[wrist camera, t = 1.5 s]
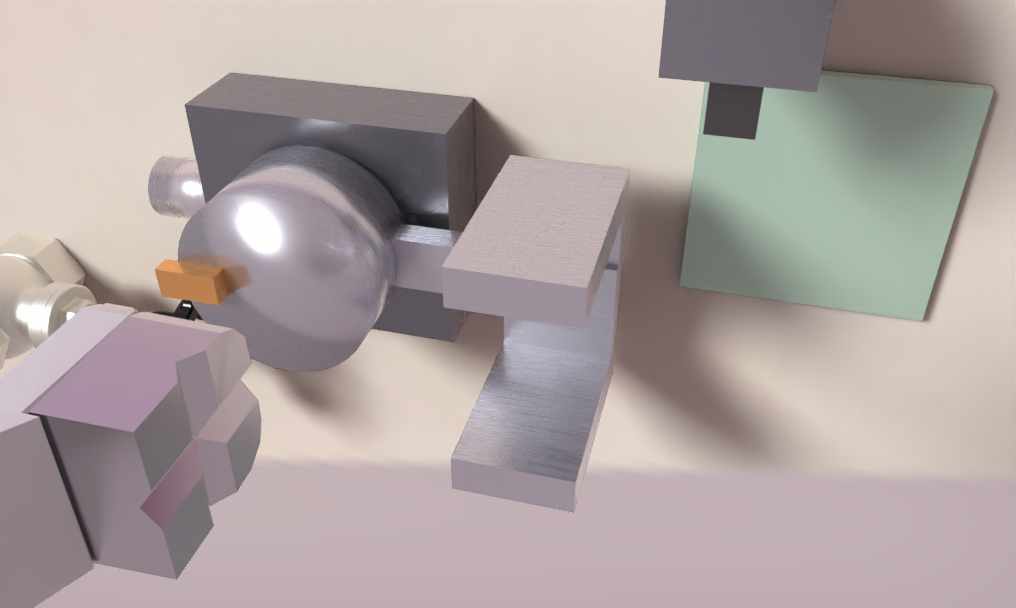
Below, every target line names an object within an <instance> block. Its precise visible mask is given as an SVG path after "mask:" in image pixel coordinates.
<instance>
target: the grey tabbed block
mask: <svg viewBox="0 0 1016 608" xmlns="http://www.w3.org/2000/svg"><path fill="white" fill-rule="evenodd" d="M834 4H835V0H666V7H665V17H664V27H663V38H662V48H661V58H660V69H659V77H660V78H670V79H681V80H692V81H702V82H710V83H709V91H708V99H707V107H706V114H705V122H704V130H703V134H704V135H714V136H723V137H732V138H742V139H751V140H755V138H756V132H757V126H758V120H759V114H760V108H761V102H762V96H763V90H764V87H766V88H776V89H787V90H797V91H808V92H817V89H818V84H819V79H820V74H821V69H822V64H823V59H824V54H825V49H826V44H827V39H828V34H829V29H830V24H831V19H832V14H833V9H834Z"/></svg>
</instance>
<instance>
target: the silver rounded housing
mask: <svg viewBox="0 0 1016 608" xmlns="http://www.w3.org/2000/svg"><path fill="white" fill-rule="evenodd" d="M629 171H630V169H626V168H618V167H609V166H601V165H592V164H584V163H575V162H566V161H558V160H549V159H541V158H532V157H524V156H515V155H510V156H509V158H508V159H507V161H506V163H505V164H504V166H503V168H502V169H501V171H500V172H499V174H498V176H497V177H496V179H495V181H494V182H493V184H492V186H491V187H490V189H489V190H488V192H487V194H486V195H485V197H484V199H483V200H482V202H481V203H480V205H479V207H478V208H477V210H476V212H475V213H474V215H473V217H472V218H471V220H470V221H469V223H468V225H467V226H466V228H465V230H464V231H463V232H459V231H451V230H444V229H437V228H429V227H422V226H415V225H407V224H405V221H404V219H403V216H402V214H401V211H400V210H399V208H398V206H397V204H396V203H395V201H394V199H393V198H392V197H391V195H390V194H389V192H388V191H387V190H386V189H385V188H384V186H383V185H382V184H381V183H380V182H379V181H378V180H377V179H376V178H375V177H374V176H373V175H372V174H370V173H369V172H368V171H367V170H365V169H364V168H363V167H361V166H360V165H359V164H357V163H355V162H354V161H352V160H350V159H348V158H347V157H345V156H342V155H340V154H338V153H336V152H333V151H330V150H326V149H323V148H319V147H313V146H303V145H294V146H285V147H281V148H276V149H274V150H271V151H269V152H266V153H265V154H263V155H262V156H260V157H258V158H257V159H256V160H255V161H254V162H253V163H251V164H250V165H249V166H248V167H247V168H246V169H245V170H244V171H242V172H241V173H240V174H239V175H238V176H237V177H236V178H235V179H233V180H232V181H231V182H230V183H229V184H228V185H227V186H226V187H224V188H223V189H222V190H221V191H220V192H219V193H218V194H217V195H215V196H214V197H213V198H212V199H211V200H210V201H209V202H208V203H206V204H205V205H204V206H203V207H202V208H201V209H200V210H199V211H197V212H196V213H195V214H194V215H193V216H192V217H191V219H190V220H189V221H188V223H187V224H186V226H185V228H184V230H183V232H182V235H181V238H180V241H179V248H178V261H173V260H164V261H163V262H162V263H161V264H160V265H159V266H158V267H157V268H156V269H155V271H156V275H157V279H158V283H159V287H160V291H161V295H162V296H164V297H171V298H177V299H183V300H189V301H191V302H192V304H193V306H194V307H195V309H196V310H197V312H198V313H199V315H200V316H201V317H202V319H203V320H204V321H205V322H206V323H207V324H212V325H217V326H222V327H227V328H232V329H234V330H236V331H237V332H239V333H240V334H242V335H243V336H245V340H246V344H247V348H248V352H249V357H250V358H252V359H254V360H256V361H259V362H261V363H263V364H266V365H269V366H272V367H275V368H279V369H284V370H289V371H297V372H310V371H319V370H323V369H327V368H331V367H333V366H335V365H338V364H340V363H341V362H343V361H345V360H346V359H348V358H349V357H350V356H351V355H352V354H353V353H354V352H355V351H356V350H357V348H358V347H359V346H360V345H361V343H362V342H363V340H364V338H365V337H366V335H367V334H368V332H369V331H370V329H371V328H372V326H373V325H374V323H375V322H376V320H377V319H378V317H379V316H380V314H381V313H382V311H383V310H384V308H385V307H386V305H387V304H388V302H389V301H390V299H391V298H392V296H393V295H394V293H395V292H396V290H397V289H398V287H403V288H410V289H417V290H423V291H430V292H436V293H443V305H444V307H445V308H452V309H458V310H464V311H471V312H477V313H484V314H490V315H497V316H503V317H504V342H503V344H502V346H501V349H500V351H499V353H498V355H497V357H496V360H495V362H494V364H493V366H492V368H491V371H490V373H489V375H488V377H487V379H486V382H485V384H484V386H483V388H482V391H481V393H480V395H479V397H478V399H477V402H476V404H475V406H474V408H473V410H472V413H471V415H470V417H469V419H468V421H467V424H466V426H465V428H464V430H463V432H462V435H461V437H460V439H459V441H458V443H457V446H456V448H455V450H454V452H453V455H452V457H451V473H452V488H453V489H459V490H463V491H468V492H473V493H478V494H483V495H488V496H493V497H498V498H504V499H509V500H514V501H518V502H524V503H528V504H533V505H539V506H544V507H549V508H554V509H559V510H563V511H569V512H574V510H575V507H576V503H577V500H578V496H579V492H580V489H581V485H582V482H583V478H584V474H585V471H586V467H587V464H588V460H589V457H590V453H591V449H592V446H593V442H594V439H595V435H596V431H597V428H598V424H599V421H600V417H601V413H602V410H603V406H604V403H605V399H606V395H607V392H608V388H609V385H610V381H611V377H612V374H613V365H614V352H615V340H616V328H617V316H618V304H619V292H620V280H621V268H622V256H623V244H624V231H625V219H626V207H627V195H628V183H629Z"/></svg>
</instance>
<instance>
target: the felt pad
mask: <svg viewBox="0 0 1016 608" xmlns="http://www.w3.org/2000/svg"><path fill="white" fill-rule="evenodd" d="M709 83H710V82H705V87H704V95H703V103H702V110H701V118H700V126H699V134H698V142H697V150H696V158H695V166H694V174H693V182H692V190H691V198H690V205H689V213H688V221H687V229H686V237H685V245H684V253H683V261H682V269H681V277H680V285H679V287H685V288H692V289H700V290H707V291H714V292H721V293H728V294H735V295H742V296H749V297H756V298H763V299H770V300H777V301H784V302H791V303H798V304H805V305H812V306H819V307H826V308H833V309H840V310H847V311H854V312H861V313H868V314H875V315H882V316H889V317H896V318H903V319H910V320H917V321H922V320H923V317H924V313H925V310H926V307H927V304H928V301H929V297H930V294H931V291H932V288H933V285H934V281H935V278H936V275H937V272H938V269H939V265H940V262H941V259H942V256H943V253H944V250H945V246H946V243H947V240H948V237H949V234H950V230H951V227H952V224H953V221H954V218H955V214H956V211H957V208H958V205H959V202H960V198H961V195H962V192H963V189H964V186H965V182H966V179H967V176H968V173H969V170H970V166H971V163H972V160H973V157H974V154H975V150H976V147H977V144H978V141H979V138H980V134H981V131H982V128H983V125H984V122H985V118H986V115H987V112H988V109H989V106H990V102H991V99H992V96H993V93H994V89H993V87H992V86H991V85H980V84H969V83H958V82H947V81H936V80H924V79H913V78H902V77H891V76H880V75H869V74H858V73H846V72H835V71H824V70H821V74H820V79H819V84H818V89H817V92H808V91H797V90H787V89H776V88H766V87H764V90H763V96H762V102H761V108H760V114H759V120H758V126H757V132H756V138H755V140H751V139H742V138H732V137H723V136H714V135H704V134H703V130H704V122H705V114H706V107H707V99H708V91H709Z"/></svg>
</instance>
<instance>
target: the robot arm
mask: <svg viewBox="0 0 1016 608" xmlns="http://www.w3.org/2000/svg"><path fill="white" fill-rule="evenodd" d="M250 365H251V361H250V357H249V352H248V348H247V344H246V340H245V336H243V335H242V334H240V333H239V332H237V331H236V330H234V329H232V328H227V327H222V326H217V325H212V324H206V323H201V322H196V321H191V320H186V319H180V318H175V317H170V316H165V315H160V314H155V313H149V312H138V311H135V310H129V309H124V308H119V307H114V306H108V305H103V304H96V305H92V306H87V307H83V308H81V309H80V310H79V311H78V312H77V313H76V314H75V315H73V316H72V317H71V318H70V319H69V320H68V321H67V322H65V323H64V324H63V325H62V326H61V327H60V328H59V329H58V330H56V331H55V332H54V333H53V334H52V335H51V336H50V337H48V338H47V339H46V340H45V341H44V342H43V343H42V344H40V345H39V346H38V347H37V348H36V349H35V350H34V351H33V352H31V353H30V354H29V355H28V356H27V357H26V358H25V359H23V360H22V361H21V362H20V363H19V364H18V365H17V366H15V367H14V368H13V369H12V370H11V371H10V372H9V373H8V374H6V375H5V376H4V377H3V378H2V379H1V380H0V608H33V607H35V606H36V605H38V604H39V603H41V602H42V601H44V600H45V599H47V598H49V597H50V596H52V595H53V594H55V593H56V592H58V591H59V590H61V589H63V588H64V587H65V586H67V585H69V584H70V583H72V582H73V581H75V580H76V579H78V578H80V577H81V576H83V575H84V574H86V573H87V572H89V571H90V570H92V569H93V568H94V565H93V563H97V564H102V565H106V566H112V567H117V568H122V569H127V570H132V571H137V572H142V573H147V574H152V575H157V576H162V577H167V578H172V579H177V578H178V577H179V576H180V574H181V573H182V571H183V570H184V568H185V567H186V565H187V564H188V562H189V561H190V560H191V558H192V557H193V555H194V554H195V552H196V551H197V549H198V548H199V546H200V545H201V544H202V542H203V540H204V539H205V538H206V536H207V535H208V533H209V532H210V530H211V529H212V528H213V526H214V525H213V518H212V512H211V505H213V504H215V503H217V502H219V501H220V500H222V499H224V498H226V497H228V496H230V495H232V494H234V493H236V492H237V491H238V489H239V488H240V486H241V485H242V483H243V481H244V480H245V478H246V477H247V475H248V474H249V472H250V471H251V468H252V465H253V462H254V459H255V456H256V453H257V450H258V447H259V444H260V434H261V415H260V409H259V403H258V399H257V398H256V397H255V396H254V395H253V394H252V392H251V391H250V390H249V389H248V388H247V387H246V385H245V384H244V383H243V382H242V381H241V380H240V379H241V378H242V376H243V375H244V373H245V372H246V371H247V369H248V368H249V367H250Z"/></svg>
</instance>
